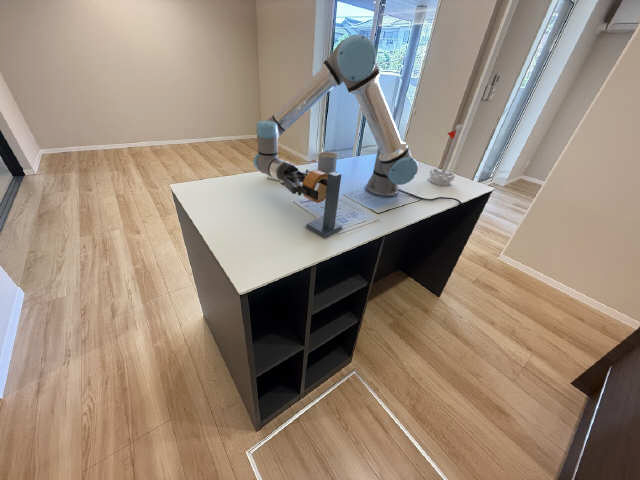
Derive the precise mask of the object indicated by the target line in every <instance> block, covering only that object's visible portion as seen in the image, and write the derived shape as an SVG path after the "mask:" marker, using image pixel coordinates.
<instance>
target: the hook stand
mask: <svg viewBox="0 0 640 480" xmlns="http://www.w3.org/2000/svg"><path fill="white" fill-rule="evenodd" d="M341 182H342V173H339V172H337V171H335V172H331V173H328V179H327V180H325V179H321V180H320V181H319V182H318V183H317V184H319V183H321V184H323V185H325V186H327V189H326V198H325V200H324V201H325V202H324V209H323V210H324V211H323V216H321V217H319V218H316V219H314V220H312V221H310V222H308V223H306V228H307V229H309V231H310V230H311V231H312V232H314V233H316V234H317V235H319V236H321V237H322V238H324V239H326V238H328V237H330V236H331V235H334V234H335V233H337V232H339V231H341V230H342V227H343V226H342V224H340V223H338V222H336V219H337V211H338V204H339V197H340V188H341Z"/></svg>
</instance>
